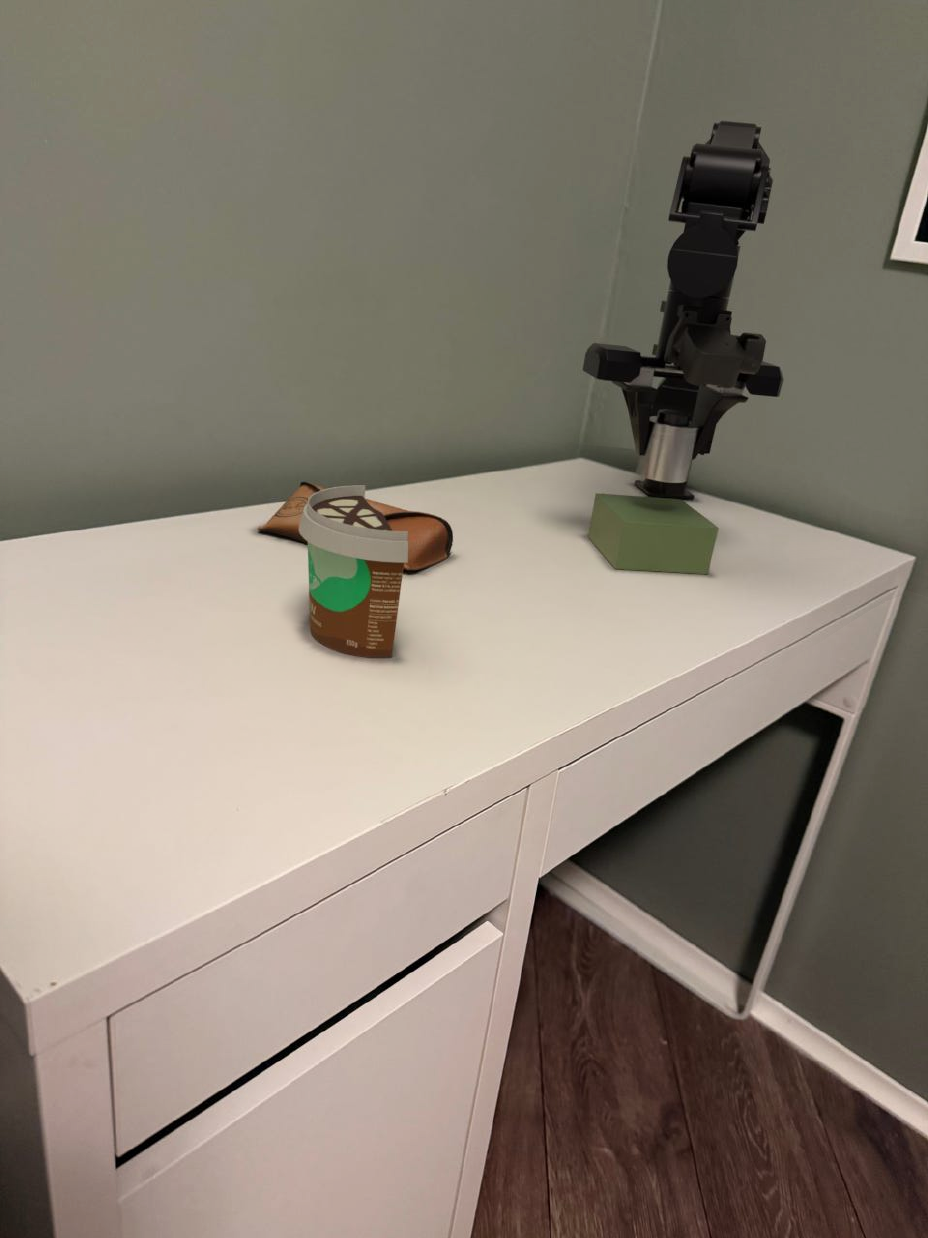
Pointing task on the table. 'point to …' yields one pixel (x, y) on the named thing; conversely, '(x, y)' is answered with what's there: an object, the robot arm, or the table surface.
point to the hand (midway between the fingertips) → (665, 456)
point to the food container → (352, 572)
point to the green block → (652, 534)
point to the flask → (668, 447)
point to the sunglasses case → (424, 530)
